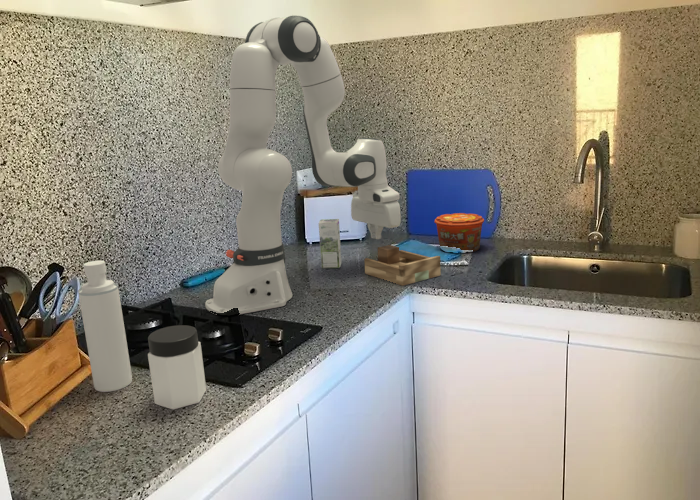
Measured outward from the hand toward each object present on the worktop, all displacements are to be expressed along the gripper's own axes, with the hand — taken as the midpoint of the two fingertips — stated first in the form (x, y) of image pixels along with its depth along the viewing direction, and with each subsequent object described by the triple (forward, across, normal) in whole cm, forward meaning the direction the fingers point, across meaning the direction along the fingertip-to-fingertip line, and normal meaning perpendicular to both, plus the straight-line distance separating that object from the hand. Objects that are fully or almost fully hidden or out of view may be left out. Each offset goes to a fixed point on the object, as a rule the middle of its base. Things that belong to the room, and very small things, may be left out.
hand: (376, 238), depth 181 cm
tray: (+9, +12, -1) cm, 15 cm away
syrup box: (+9, -10, -10) cm, 17 cm away
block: (+6, +6, -1) cm, 9 cm away
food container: (+10, +3, +32) cm, 33 cm away
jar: (+7, +44, -77) cm, 89 cm away
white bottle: (+7, +30, -85) cm, 91 cm away
